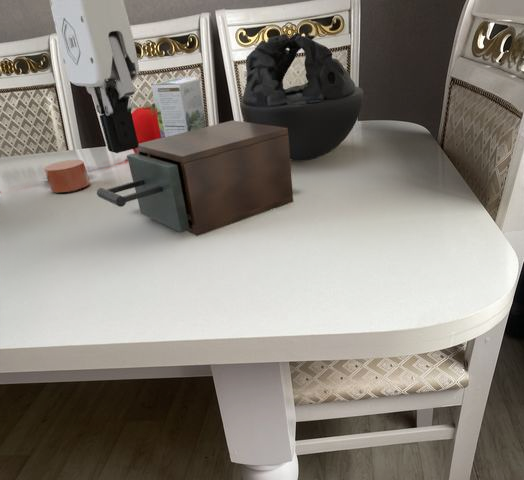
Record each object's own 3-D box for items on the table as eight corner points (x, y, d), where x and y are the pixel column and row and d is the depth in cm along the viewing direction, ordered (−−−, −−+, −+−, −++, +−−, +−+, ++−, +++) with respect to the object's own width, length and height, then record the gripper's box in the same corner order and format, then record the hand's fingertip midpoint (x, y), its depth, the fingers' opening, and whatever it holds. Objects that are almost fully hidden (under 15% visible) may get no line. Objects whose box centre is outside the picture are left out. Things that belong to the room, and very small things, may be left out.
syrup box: (185, 166, 95) (169, 78, 87) (213, 167, 93) (199, 76, 85) (168, 176, 91) (149, 83, 83) (196, 176, 89) (179, 81, 81)
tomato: (120, 168, 100) (106, 109, 95) (161, 152, 108) (150, 98, 102) (166, 171, 94) (154, 109, 88) (206, 155, 102) (197, 96, 96)
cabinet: (197, 236, 65) (182, 156, 60) (151, 215, 74) (134, 144, 69) (293, 201, 72) (287, 127, 67) (241, 186, 81) (232, 120, 76)
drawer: (136, 248, 61) (119, 181, 57) (99, 226, 69) (81, 166, 65) (274, 200, 71) (268, 139, 66) (227, 186, 79) (219, 131, 74)
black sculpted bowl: (271, 145, 102) (260, 33, 92) (374, 143, 95) (375, 21, 85) (229, 176, 87) (210, 45, 77) (347, 175, 80) (344, 31, 69)
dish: (58, 196, 88) (51, 172, 86) (46, 190, 92) (38, 166, 90) (95, 186, 91) (89, 162, 89) (82, 180, 95) (75, 157, 93)
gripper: (17, -31, 55) (71, 150, 65) (64, -55, 45) (121, 166, 55) (84, -36, 59) (126, 136, 69) (143, -59, 48) (183, 149, 58)
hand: (124, 149), depth 62 cm, fingers closed
